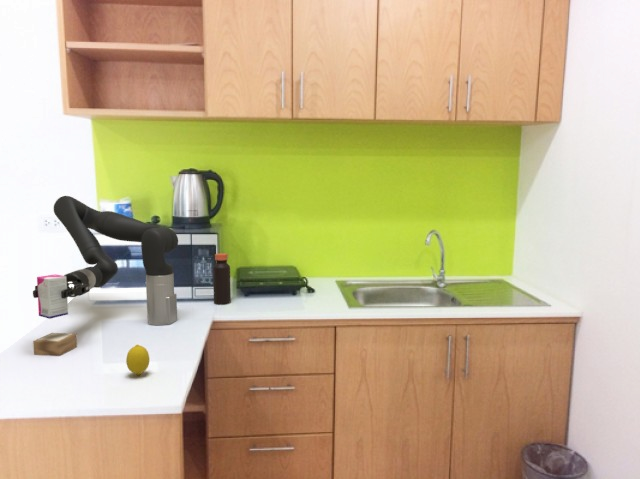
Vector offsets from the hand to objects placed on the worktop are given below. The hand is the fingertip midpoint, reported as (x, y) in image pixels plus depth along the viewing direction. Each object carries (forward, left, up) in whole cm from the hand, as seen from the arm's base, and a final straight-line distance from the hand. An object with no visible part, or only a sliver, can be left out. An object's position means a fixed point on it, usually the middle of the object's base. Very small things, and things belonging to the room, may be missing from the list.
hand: (48, 294), depth 144 cm
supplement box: (0, -2, -7) cm, 7 cm away
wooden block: (0, -2, -17) cm, 17 cm away
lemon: (-33, +12, -17) cm, 39 cm away
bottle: (-29, -65, -17) cm, 73 cm away
